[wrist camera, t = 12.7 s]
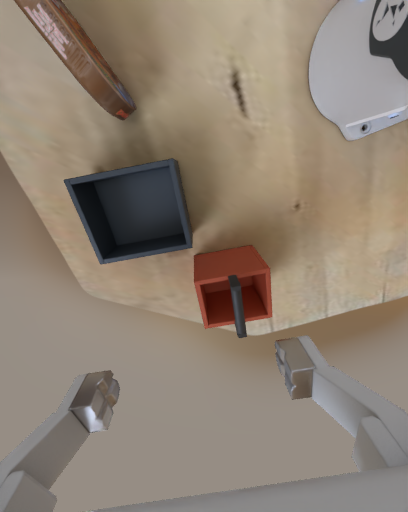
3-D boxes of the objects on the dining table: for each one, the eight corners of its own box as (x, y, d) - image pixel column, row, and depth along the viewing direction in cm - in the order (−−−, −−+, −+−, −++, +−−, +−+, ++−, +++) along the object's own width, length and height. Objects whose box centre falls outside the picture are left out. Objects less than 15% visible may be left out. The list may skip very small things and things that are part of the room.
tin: (144, 115, 28) (125, 94, 20) (128, 130, 28) (103, 116, 21) (52, -13, 23) (-21, -107, 15) (35, 9, 23) (-43, -70, 16)
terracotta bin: (252, 244, 37) (278, 278, 25) (255, 285, 40) (280, 331, 29) (194, 255, 37) (194, 293, 25) (202, 294, 40) (206, 343, 29)
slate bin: (177, 160, 30) (173, 158, 24) (192, 234, 35) (192, 247, 29) (89, 177, 31) (63, 179, 25) (116, 248, 36) (100, 264, 29)
